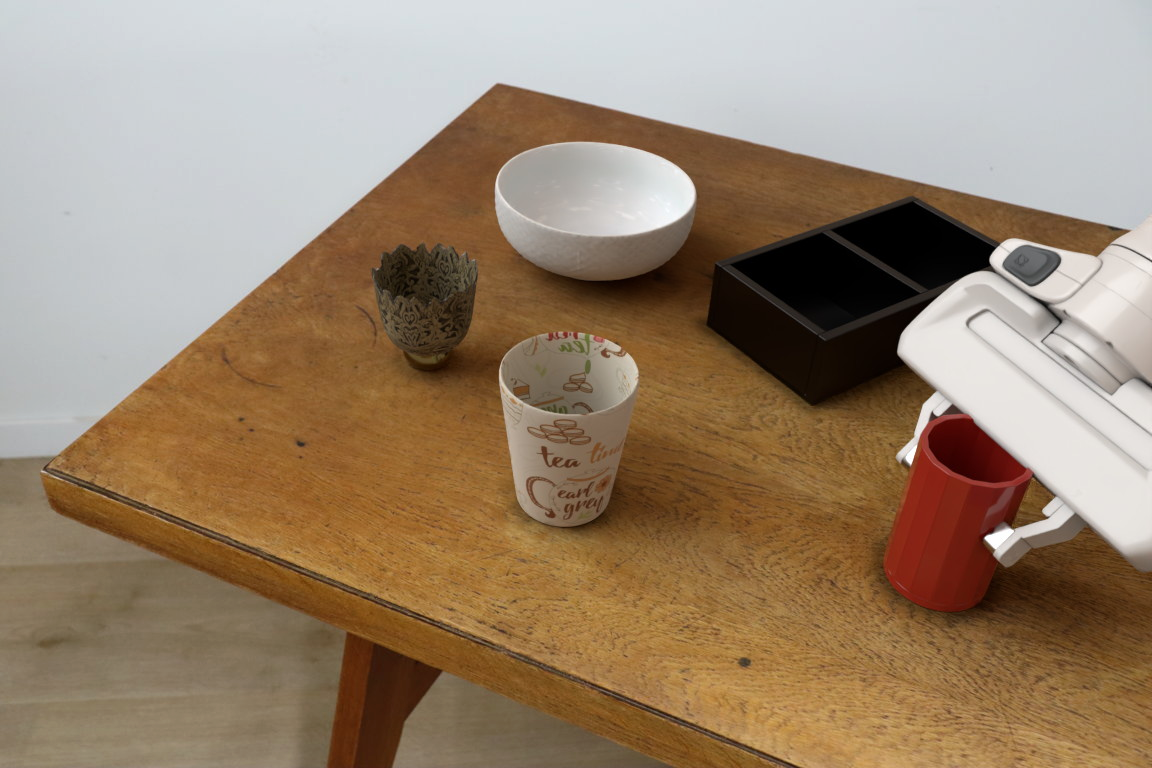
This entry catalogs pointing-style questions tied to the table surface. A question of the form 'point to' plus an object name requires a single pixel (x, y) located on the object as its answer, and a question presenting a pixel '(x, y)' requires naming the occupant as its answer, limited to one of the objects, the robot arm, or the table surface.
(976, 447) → the cup
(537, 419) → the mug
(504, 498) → the table surface
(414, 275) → the cup
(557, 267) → the cereal bowl
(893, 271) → the caddy
